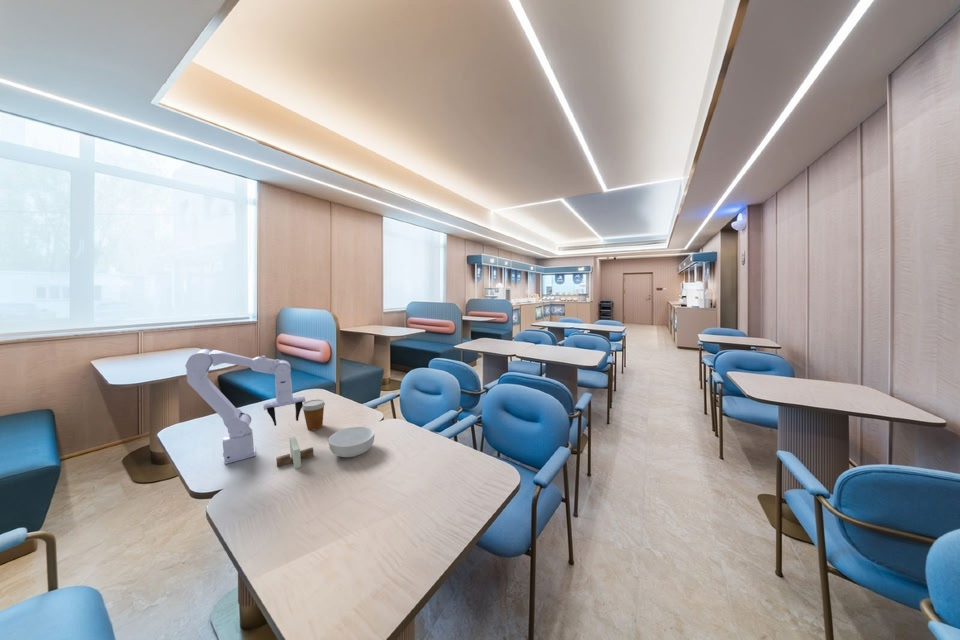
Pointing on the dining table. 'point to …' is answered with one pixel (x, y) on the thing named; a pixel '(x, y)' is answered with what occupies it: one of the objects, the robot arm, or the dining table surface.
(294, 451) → the sage slot plate
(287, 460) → the walnut slot board
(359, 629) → the dining table surface
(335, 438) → the cereal bowl
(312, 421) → the disposable coffee cup
